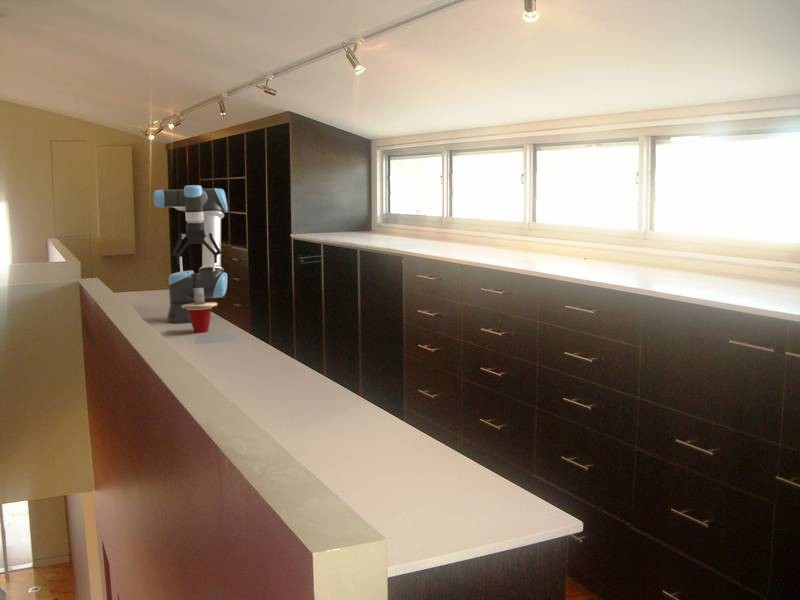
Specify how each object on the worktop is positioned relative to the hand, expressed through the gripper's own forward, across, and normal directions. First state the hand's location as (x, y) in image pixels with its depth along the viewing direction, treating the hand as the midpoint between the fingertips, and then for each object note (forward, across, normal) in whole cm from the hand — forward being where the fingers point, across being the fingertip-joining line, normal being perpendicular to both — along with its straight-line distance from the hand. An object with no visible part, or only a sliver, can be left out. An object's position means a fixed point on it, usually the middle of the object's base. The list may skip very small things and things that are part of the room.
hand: (197, 271), depth 342 cm
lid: (+15, 0, 0) cm, 15 cm away
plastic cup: (+27, 0, -1) cm, 27 cm away
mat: (+27, +7, -17) cm, 32 cm away
